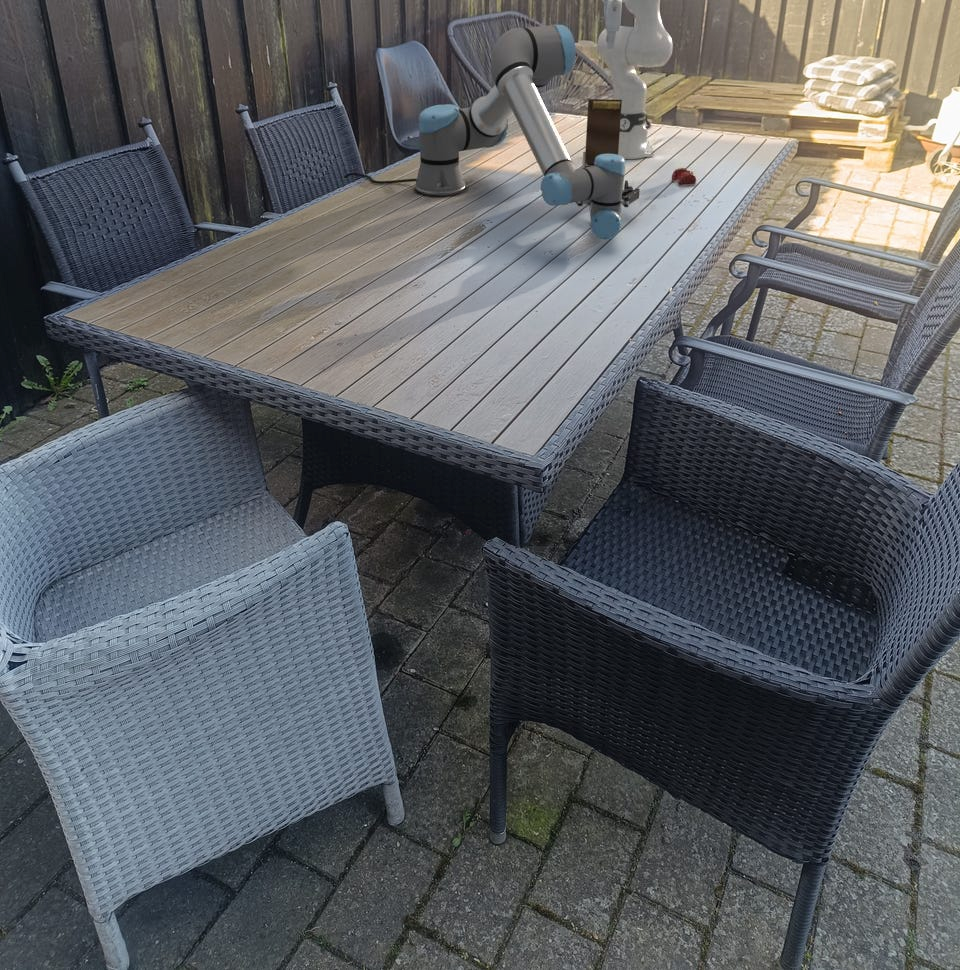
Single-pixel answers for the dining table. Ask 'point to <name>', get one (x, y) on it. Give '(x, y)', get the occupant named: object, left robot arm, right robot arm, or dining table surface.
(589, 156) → the lid
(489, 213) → the dining table surface
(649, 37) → the right robot arm
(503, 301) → the dining table surface
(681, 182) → the dark red rounded lump
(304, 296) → the dining table surface
